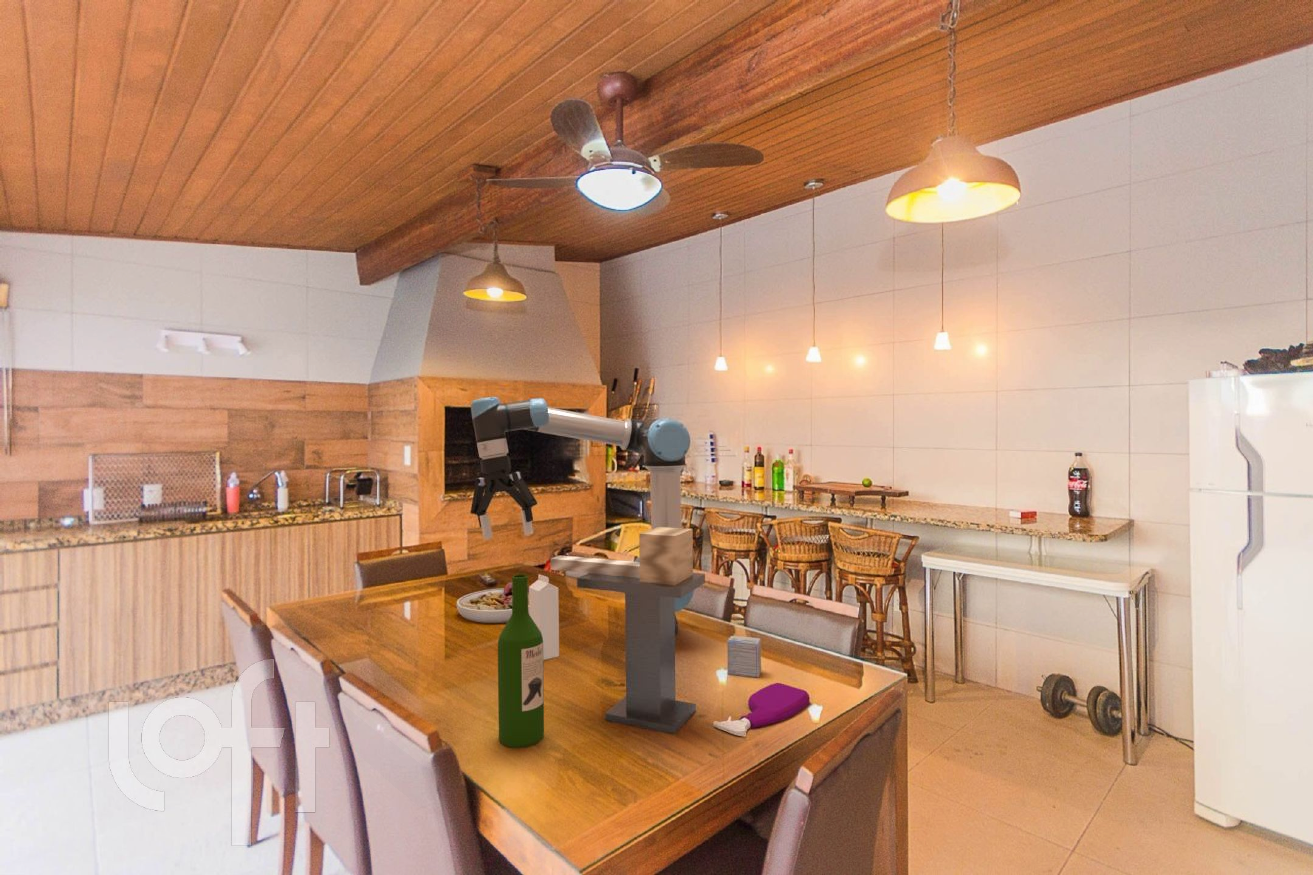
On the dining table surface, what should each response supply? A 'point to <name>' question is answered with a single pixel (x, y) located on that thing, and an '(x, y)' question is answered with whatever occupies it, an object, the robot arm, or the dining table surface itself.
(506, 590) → the bowl
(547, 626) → the milk
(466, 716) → the dining table surface
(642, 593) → the stand
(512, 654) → the wine bottle
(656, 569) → the wooden l-shaped block
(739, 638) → the medicine box
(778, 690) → the spray bottle
